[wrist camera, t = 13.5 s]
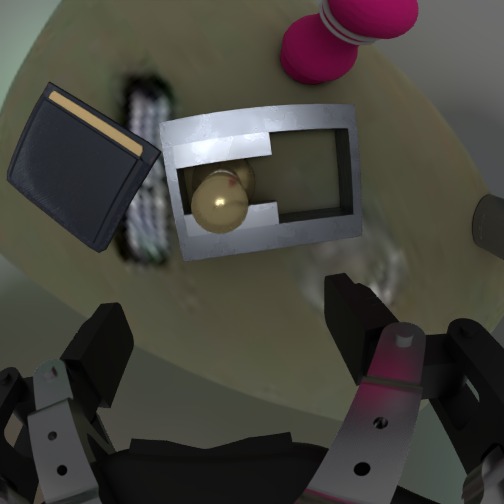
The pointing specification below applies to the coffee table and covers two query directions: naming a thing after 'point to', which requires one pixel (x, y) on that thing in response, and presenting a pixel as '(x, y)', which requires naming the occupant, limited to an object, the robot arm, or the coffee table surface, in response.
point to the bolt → (222, 194)
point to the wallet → (79, 166)
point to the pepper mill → (341, 35)
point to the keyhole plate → (251, 145)
